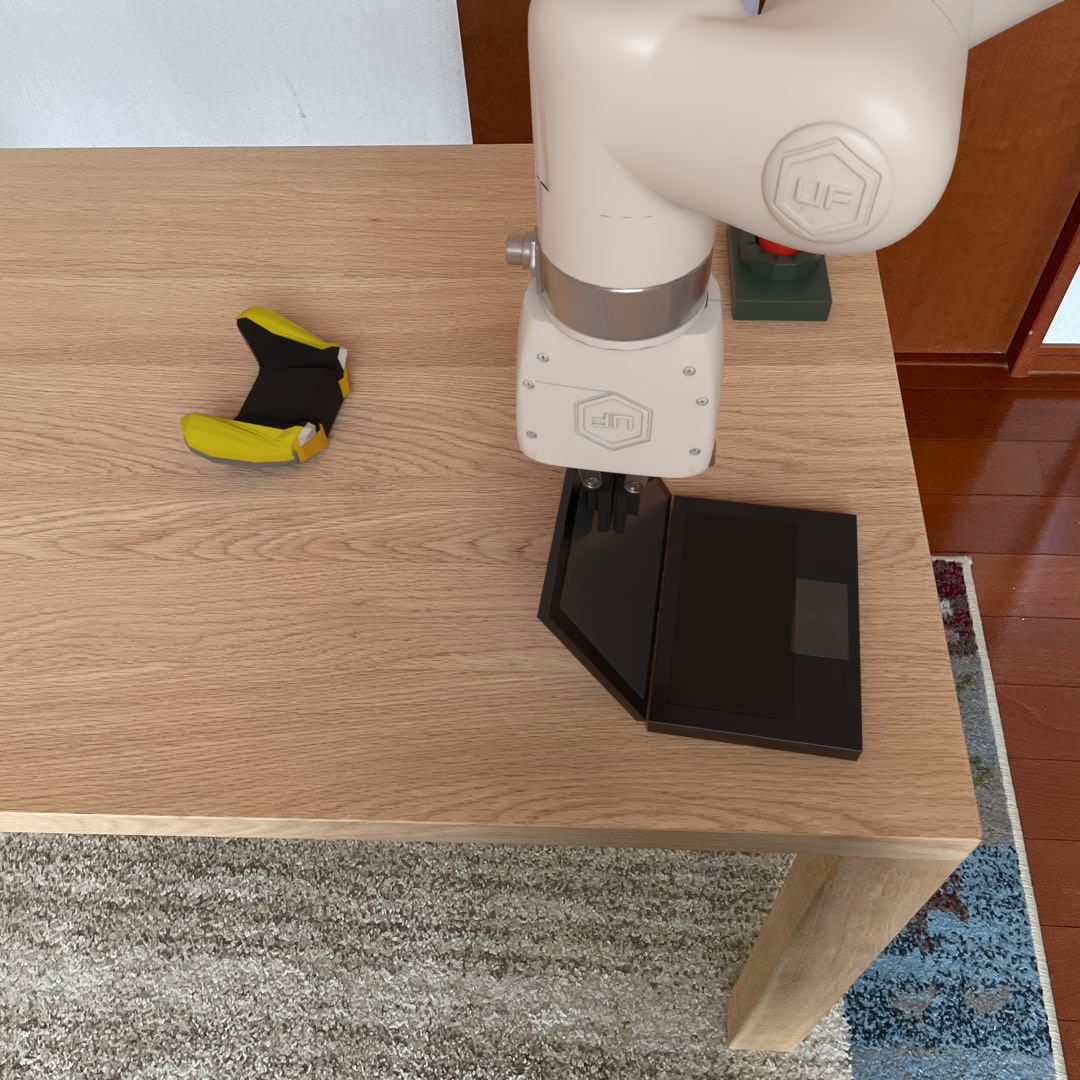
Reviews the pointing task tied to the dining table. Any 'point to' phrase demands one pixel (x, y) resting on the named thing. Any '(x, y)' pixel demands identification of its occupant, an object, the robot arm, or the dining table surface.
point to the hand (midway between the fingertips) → (614, 513)
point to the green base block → (775, 282)
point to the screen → (608, 589)
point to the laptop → (760, 629)
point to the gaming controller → (276, 398)
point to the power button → (776, 247)
